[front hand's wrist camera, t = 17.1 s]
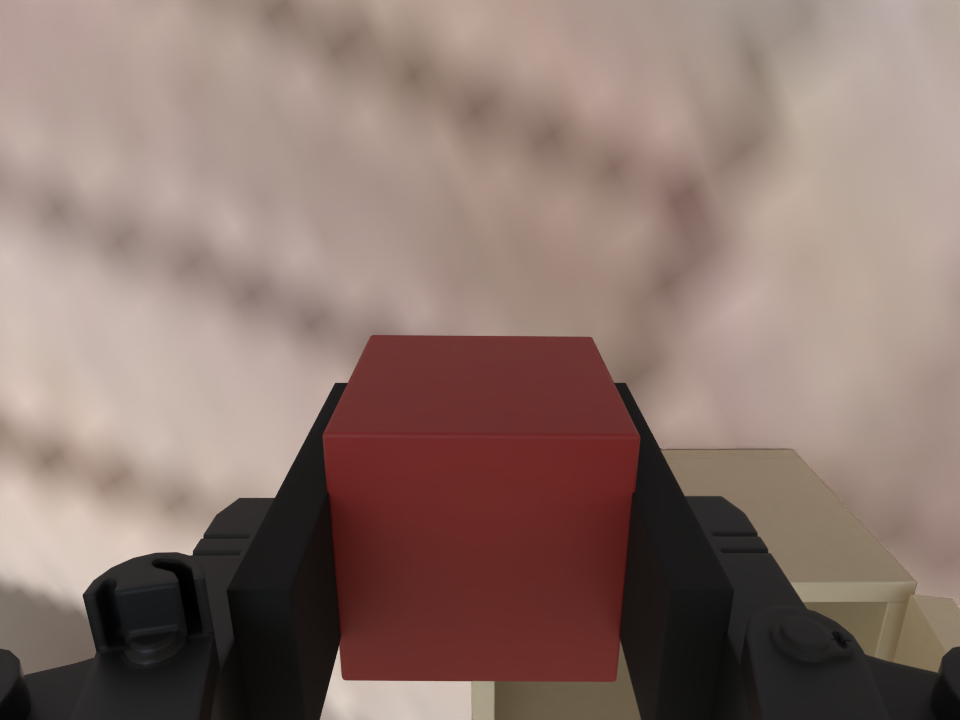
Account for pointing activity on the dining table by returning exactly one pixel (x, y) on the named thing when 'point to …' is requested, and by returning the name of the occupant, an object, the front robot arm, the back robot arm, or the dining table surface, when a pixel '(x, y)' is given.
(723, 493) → the chest
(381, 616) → the block
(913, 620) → the lid
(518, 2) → the dining table surface
